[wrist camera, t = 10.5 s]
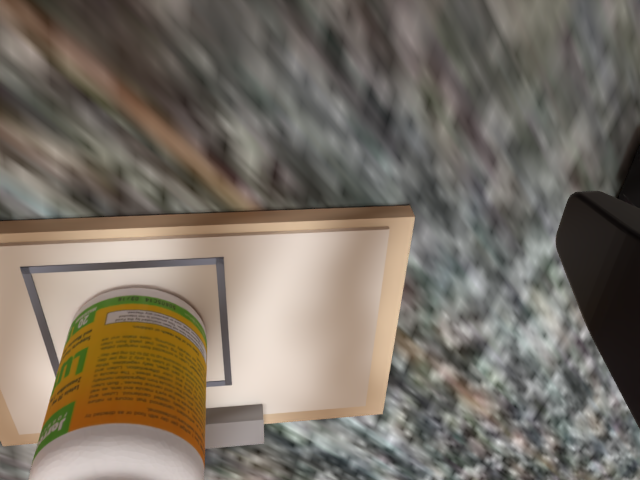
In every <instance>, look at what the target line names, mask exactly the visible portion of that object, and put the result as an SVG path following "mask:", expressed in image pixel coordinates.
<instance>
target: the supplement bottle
mask: <svg viewBox="0 0 640 480" xmlns="http://www.w3.org/2000/svg"><path fill="white" fill-rule="evenodd" d="M206 375H207V335H206V330H205V327H204V324H203V322H202V320H201V318H200V317H199V315H198V314H197V313H196V311H195V310H194V309H193V308H192V307H191V306H190V305H188V304H187V303H186V302H184V301H183V300H181V299H179V298H178V297H176V296H173V295H171V294H168V293H165V292H162V291H158V290H154V289H146V288H127V289H119V290H114V291H110V292H107V293H104V294H102V295H99V296H97V297H95V298H94V299H92V300H91V301H89V302H88V303H86V304H85V305H84V306H83V307H82V308H81V309H80V310H79V311H78V313H77V314H76V315H75V317H74V319H73V321H72V323H71V326H70V329H69V332H68V335H67V338H66V342H65V346H64V350H63V353H62V357H61V361H60V364H59V368H58V371H57V375H56V379H55V383H54V386H53V390H52V393H51V397H50V400H49V404H48V408H47V412H46V415H45V419H44V422H43V426H42V430H41V433H40V437H39V440H38V444H37V448H36V451H35V455H34V458H33V462H32V466H31V471H30V475H29V480H204V466H205V418H206Z"/></svg>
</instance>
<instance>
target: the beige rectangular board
mask: <svg viewBox="0 0 640 480" xmlns="http://www.w3.org/2000/svg"><path fill="white" fill-rule="evenodd" d="M414 220H415V216H414V213H413V211H412V209H411V207H410V205H407V206H381V207H355V208H329V209H303V210H277V211H251V212H225V213H199V214H173V215H147V216H121V217H95V218H69V219H43V220H17V221H0V441H1V443H2V445H3V446H10V445H22V444H34V443H38V440H39V437H40V433H41V430H42V426H43V422H44V419H45V415H46V412H47V408H48V404H49V400H50V397H51V393H52V390H53V386H54V383H55V379H56V375H57V371H58V368H59V364H60V361H61V357H62V353H63V350H64V346H65V342H66V338H67V335H68V332H69V329H70V326H71V323H72V321H73V319H74V317H75V315H76V314H77V313H78V311H79V310H80V309H81V308H82V307H83V306H84V305H85V304H86V303H88V302H89V301H91V300H92V299H94V298H95V297H97V296H99V295H102V294H104V293H107V292H110V291H114V290H119V289H127V288H146V289H154V290H158V291H162V292H165V293H168V294H171V295H173V296H176V297H178V298H179V299H181V300H183V301H184V302H186V303H187V304H188V305H190V306H191V307H192V308H193V309H194V310H195V311H196V313H197V314H198V315H199V317H200V318H201V320H202V322H203V324H204V327H205V330H206V335H207V375H206V418H205V449H207V448H219V447H230V446H241V445H252V444H263V443H264V424H270V423H281V422H293V421H305V420H317V419H329V418H340V417H352V416H364V415H376V414H383V408H384V402H385V396H386V390H387V384H388V378H389V371H390V365H391V359H392V353H393V347H394V341H395V335H396V329H397V323H398V317H399V311H400V305H401V299H402V293H403V287H404V281H405V275H406V269H407V262H408V256H409V250H410V244H411V238H412V232H413V226H414Z"/></svg>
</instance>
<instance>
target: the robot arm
mask: <svg viewBox="0 0 640 480" xmlns="http://www.w3.org/2000/svg"><path fill="white" fill-rule="evenodd" d="M556 248H557V252H558V254H559V257H560V259H561V262H562V265H563V267H564V270H565V272H566V275H567V278H568V280H569V283H570V285H571V288H572V291H573V293H574V296H575V298H576V301H577V303H578V306H579V309H580V311H581V314H582V316H583V319H584V321H585V323H586V326H587V328H588V330H589V332H590V334H591V336H592V338H593V340H594V342H595V344H596V346H597V348H598V350H599V352H600V354H601V356H602V358H603V360H604V362H605V364H606V365H607V367H608V369H609V371H610V373H611V375H612V377H613V379H614V381H615V383H616V385H617V386H618V388H619V390H620V392H621V394H622V396H623V398H624V400H625V402H626V404H627V406H628V407H629V409H630V411H631V413H632V415H633V417H634V419H635V421H636V423H637V425H638V427H639V428H640V145H639V147H638V150H637V152H636V155H635V158H634V160H633V163H632V165H631V168H630V170H629V173H628V175H627V178H626V180H625V183H624V185H623V188H622V190H621V193H620V195H619V198H618V199H617V198H615V197H612V196H610V195H608V194H605V193H603V192H600V191H586V192H575V193H574V194H572V195H571V196H570V197H569V199H568V201H567V204H566V207H565V210H564V213H563V216H562V219H561V222H560V225H559V228H558V231H557V235H556Z"/></svg>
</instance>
